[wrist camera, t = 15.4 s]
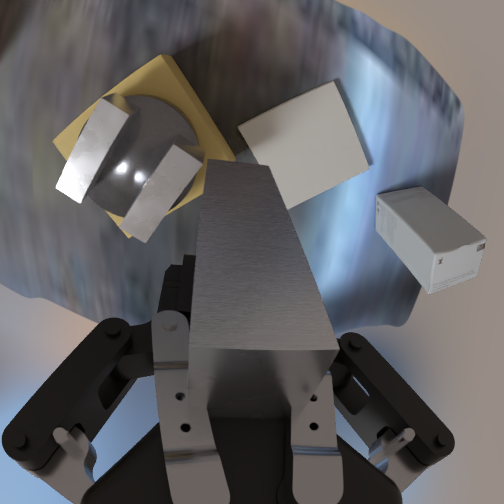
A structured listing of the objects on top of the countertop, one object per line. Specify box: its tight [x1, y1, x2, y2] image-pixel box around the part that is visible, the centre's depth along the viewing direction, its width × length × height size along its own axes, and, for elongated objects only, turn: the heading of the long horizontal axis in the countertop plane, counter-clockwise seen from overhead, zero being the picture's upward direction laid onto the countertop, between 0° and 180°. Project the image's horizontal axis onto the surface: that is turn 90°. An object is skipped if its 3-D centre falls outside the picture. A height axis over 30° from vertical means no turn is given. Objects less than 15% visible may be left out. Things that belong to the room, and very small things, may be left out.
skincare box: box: [375, 186, 486, 295], centre depth 34 cm, size 8×6×15 cm
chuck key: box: [188, 159, 340, 418], centre depth 12 cm, size 3×8×11 cm, turn 171°
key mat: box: [238, 81, 369, 210], centre depth 35 cm, size 12×12×1 cm
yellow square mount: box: [53, 55, 236, 238], centre depth 30 cm, size 14×14×6 cm
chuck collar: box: [56, 92, 205, 243], centre depth 25 cm, size 12×12×6 cm
